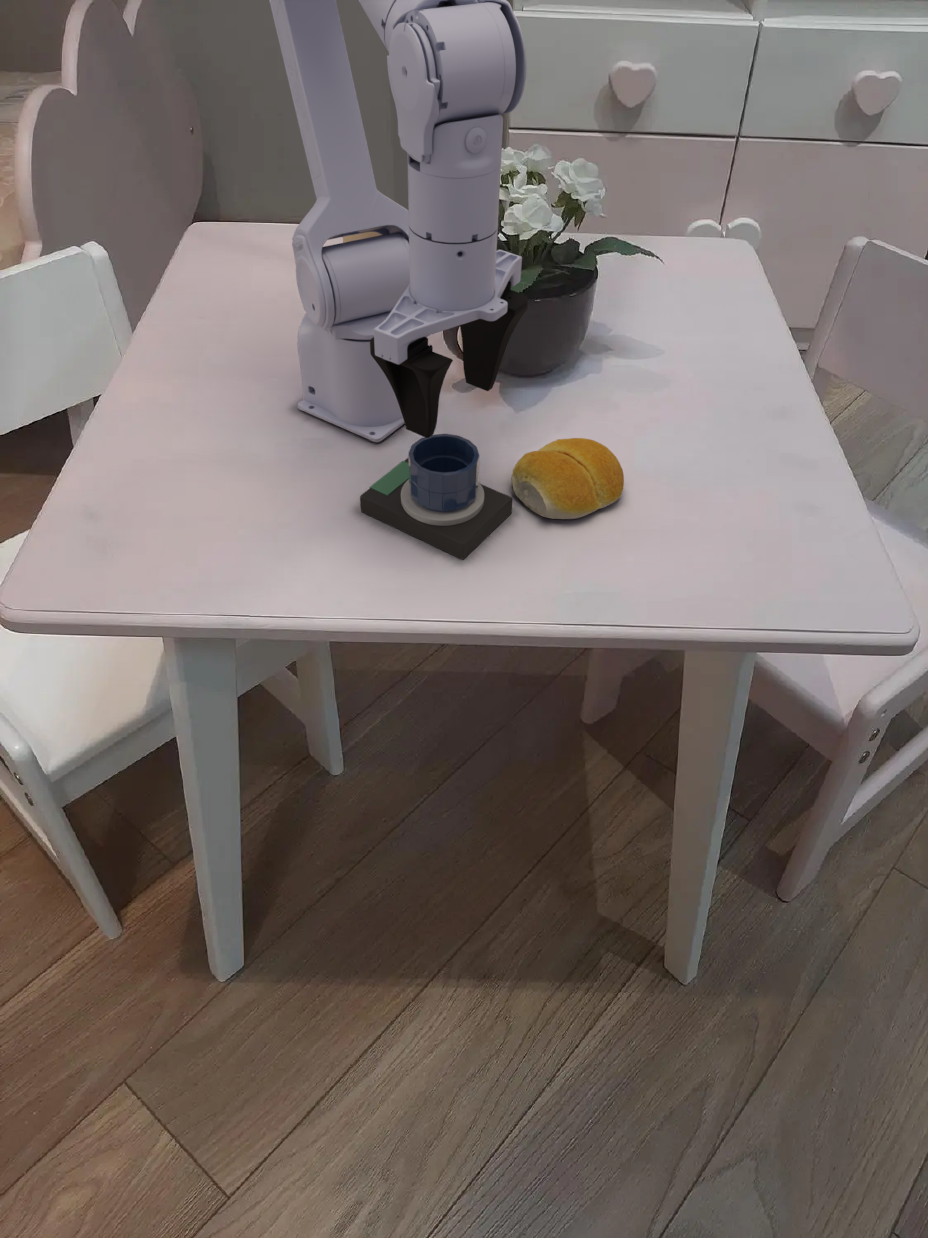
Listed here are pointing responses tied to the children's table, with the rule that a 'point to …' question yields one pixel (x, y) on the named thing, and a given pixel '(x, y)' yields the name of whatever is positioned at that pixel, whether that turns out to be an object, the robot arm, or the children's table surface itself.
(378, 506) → the scale
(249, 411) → the children's table surface
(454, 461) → the cup
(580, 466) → the bread roll
